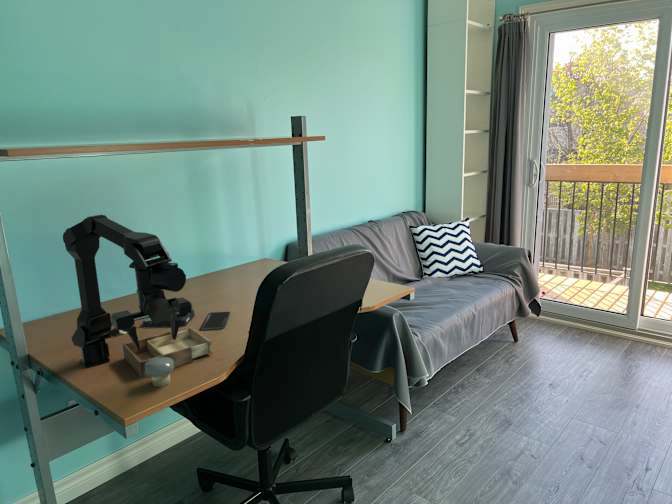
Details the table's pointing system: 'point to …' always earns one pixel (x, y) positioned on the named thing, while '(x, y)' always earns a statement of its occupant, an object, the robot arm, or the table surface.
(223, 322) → the phone
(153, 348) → the tray
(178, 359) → the housing
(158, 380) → the stand
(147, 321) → the disk drive
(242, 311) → the table surface
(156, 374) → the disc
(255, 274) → the table surface
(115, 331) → the watch
